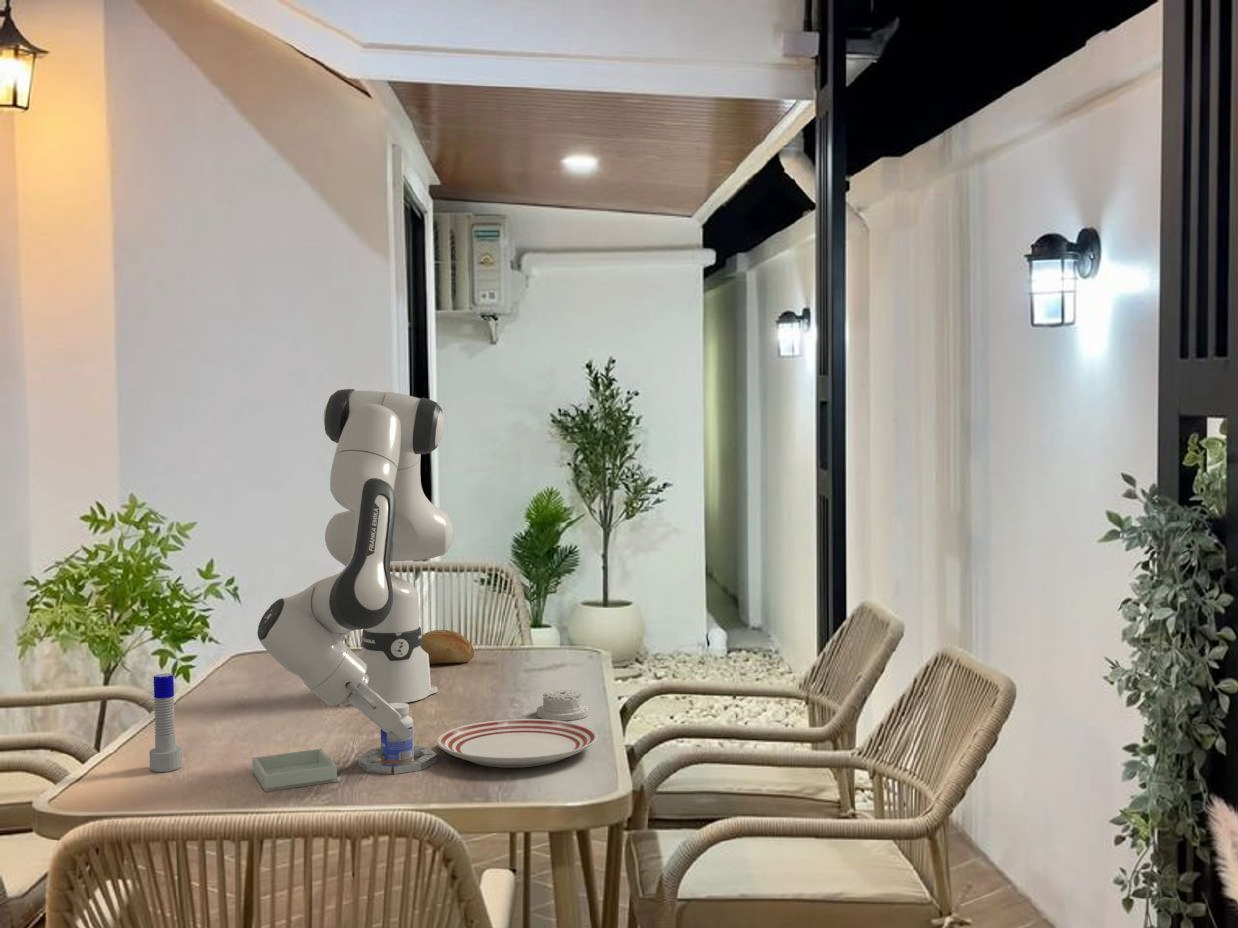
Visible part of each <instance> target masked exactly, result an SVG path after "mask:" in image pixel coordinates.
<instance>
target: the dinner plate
mask: <svg viewBox="0 0 1238 928" xmlns="http://www.w3.org/2000/svg"><path fill="white" fill-rule="evenodd" d="M598 737H599V735H598V734H597V731H596V730H594V729H592V728H590V727H588V726H586V725H583V724H579V723H576V722H570V721H557V720H546V719H542V718H516V719H514V718H512V719H497V720H490V721H488V720H487V721H482V722H474V723H470V724H464V725H460V726H458V727H454V728H452V729H449V730H447V731H444V732H443V733H442V734H441V735H439V736H438V737H437V741H436V743H437V746H438V747H439V748H440V749H441V750H443V751H444V752H446V753H447V754H450V755H452V756H454V757H456V758H459V759H462V760H465V761H468V762H471V763H473V764H475V765H480V766H484V767H490V768H503V769H505V768H506V769H507V768H508V769H514V768H515V769H516V768H519V769H521V768H532V767H539V766H544V765H549V764H550V765H551V764H553V763H556V762H559V761H562V760H564V759H567V758H569V757H572V756H573V755H576V754H579V753H581V752H583V751H584V750H586V749H588V748H589V747H590V746H592V745H593V744H595V743H596V742H597V740H598V739H599V738H598Z"/></svg>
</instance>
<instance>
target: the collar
mask: <svg viewBox="0 0 1238 928" xmlns="http://www.w3.org/2000/svg"><path fill="white" fill-rule="evenodd" d="M413 753H414V757H419V758H417V759H415V760H413V761H409V762H402V763H395V764H393V763H382V762H381V761H376V760H378V759H381V747H376V748H371V749H369V750H367V751H365V752H364V753H361V754H360V755H358V756H357V765H358V766H359V767H360V768H361V769H362V770H363V771H364V772H366V773H374V774H386V775H397V774H405V773H412V772H419V771H422V770H426V769H427V768H429V767H431V766H432V765H434V764H436V763H437V760H438V753H436V752H435V751H433V749H431V748H430V747H428V746H419V745H413Z"/></svg>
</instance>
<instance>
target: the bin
mask: <svg viewBox="0 0 1238 928" xmlns="http://www.w3.org/2000/svg"><path fill="white" fill-rule="evenodd" d="M251 759H252V760H251V761H252V774H253V776H254V777H255V778H256V780H257V782H258V783H259V785H260V787H261V788H262V790H263V791H264V792H265V793H266V792H274V791H281V790H286V789H288V790H289V789H295V788H301V787H309V786H310V787H311V786H316V785H324V784H330V783H336V782H338V766H337V764H335V762H334V761H333V760H332V759H331V757H330V756H329V755H328V754H327V753H326V752H325V751H324V750H323V749H322V748H317V749H309V750H299V751H294V752H292V751H291V752H286V753H278V754H271V755H262V756H256V757H252V758H251Z"/></svg>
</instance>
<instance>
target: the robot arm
mask: <svg viewBox="0 0 1238 928" xmlns="http://www.w3.org/2000/svg"><path fill="white" fill-rule="evenodd" d="M445 423H446V422H445V417H444V414H443V408H442V407H441V406H440V405H439V402H436V401H434V400H432V399H430V398H425V397H421V398H419V397H416V396H412V395H408V394H403V393H399V392H391V391H387V392H385V391H377V390H376V391H375V390H355V389H353V388H346V389H344V388H343V389H339V390H336V391H335V392H334V393H332V394H331V395H330V396H329V399H328V401H327V403H326V405H325V408H324V412H323V426H324V431H325V434H326V436H327V437H328V438H329V439H330V440H331V441H332V442H333V443H335V444H337V445H336V449H335V452H334V457H333V460H332V464H331V470H330V475H329V476H330V478H329V491H330V493H331V495H332V497H333V498H334V500H335V501H336V503H338V505H340V506H341V507H343V508H344V509H346V510H347V511H343V512H342V511H341V512H338V513H334V515H333V516H332V517H331V518H330V519H329V521H328V522H327V524H326V527H325V533H324V541H325V545H326V548H327V551H328V552H329V554H330V555H331V556H332V557H333V559H335V560H336V561H338V562H339V563H340V564H342V565H343V566H344V568H343V569H342V571H340V572H339V573H336V574H333V575H331V576H327V577H324V578H322V579H319V580H317V581H315V582H314V583H313V584H311V585H309V586H308V587H307V588H306V589H304V590H303V591H300V592H298V593H296V594H293V595H291V596H287V597H284V598H282V597H281V598H279V599H276V601H275V602H273V603H272V604H271V605H270V606H269V607H268V609H267V610H266V611H265V612H264V614H263V615H262V617H261V619H260V621H259V624H258V627H257V637H258V641H259V642H260V643H261V645H262V647H263V648H264V649H265V650H266V651H267V652H268V654H270V655H271V657H272V658H273V659H274V660H276V661H277V662H278V663H279V664H280V665H281V666H282V667H283V668H285V669H286V670H287V672H289V673H291V674H294V675H296V676H297V677H299V678H300V679H301V680H302V681H303V683H304V685H305V686H306V687H307V688H308V689H309V690H310V691H311V692H312V693H314V694H315V695H316V696H317V697H318V698H320V699H321V701H323V702H324V703H326V704H327V705H328V706H329V707H334V706H337V705H340V706H342V707H347V706H348V705H352V706H354V707H355V708H356V709H357V710H358V711H360V712H361V713H362V714H363V715H364V716H366V718H368V719H369V720H370V721H371V722H372V723H373V724H375V725H376V726H377V727H378V728H379V729H380V730H381V729H382V730H383V731H384V732H386V733H389V732H391V731H392V732H394V733H395V734H396V735H398V736H399V737H400V738H402V739H403V740H404V741H407V740H408V739H409V738H410V736H411V735H412V732H411V731H410V730H409V729H408V728H406V727H405V726H404V724H403V723H402V722H401V721H400V720H401V718H402V716H401V715H400V713H399V712H397V711H396V710H395V709H394V708H393V707H392V706H391V705H389V704H390V703H406V704H407V703H410V702H411V703H412V702H417V701H419V700H423V699H426V698H427V697H428V696H430V695H432V694H435V693H436V694H437V693H438V691H439V690H438V686H436V685H433V684H431V683H432V682H431V673H430V672H431V670H430V664H429V656H428V653H426V652H425V651H424V650H423V649H422V648H421V646H420V645H421V644H422V639H421V638H422V635H423V633H422V628H421V627H420V615H419V609H420V608H419V607H420V606H419V593H418V590H417V588H416V587H415V586H414V585H413V584H412V583H411V582H409V581H407V580H406V579H403V578H401V577H399V576H396V575H394V574H392V573H391V562H408V561H409V562H410V561H411V562H412V561H425V560H431V559H433V558H437V557H443V556H444V555H445V554H446V553H447V552H448V551H449V549H450V548H451V546H452V543H453V540H454V526H453V523H452V520H451V518H450V517H449V516H448V514H447V513H446V512H445V511H444V510H442V509H441V508H439V507H438V506H435V504H434V503H432V502H431V501H430V500H429V499H428V497H427V496H426V495H425V493H424V490H423V486H422V481H421V479H422V477H421V476H422V475H421V460H422V459H421V456H422V455H427V454H430V453H432V452H433V451H435V450H436V449H438V446H439V444H440V442H441V440H442V439H443V436H444V432H445V425H446V424H445ZM358 630H359V631H360V630H362V633H361V647H362V648H361V650H360V652H359V653H358V655H357V654H356V653H355V652H353V651H352V650H351V648H349V647H348V646H346V644H345V643H344V641H343V640H344V638H345V636H346V635H347V633H350V632H354V631H358Z"/></svg>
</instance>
